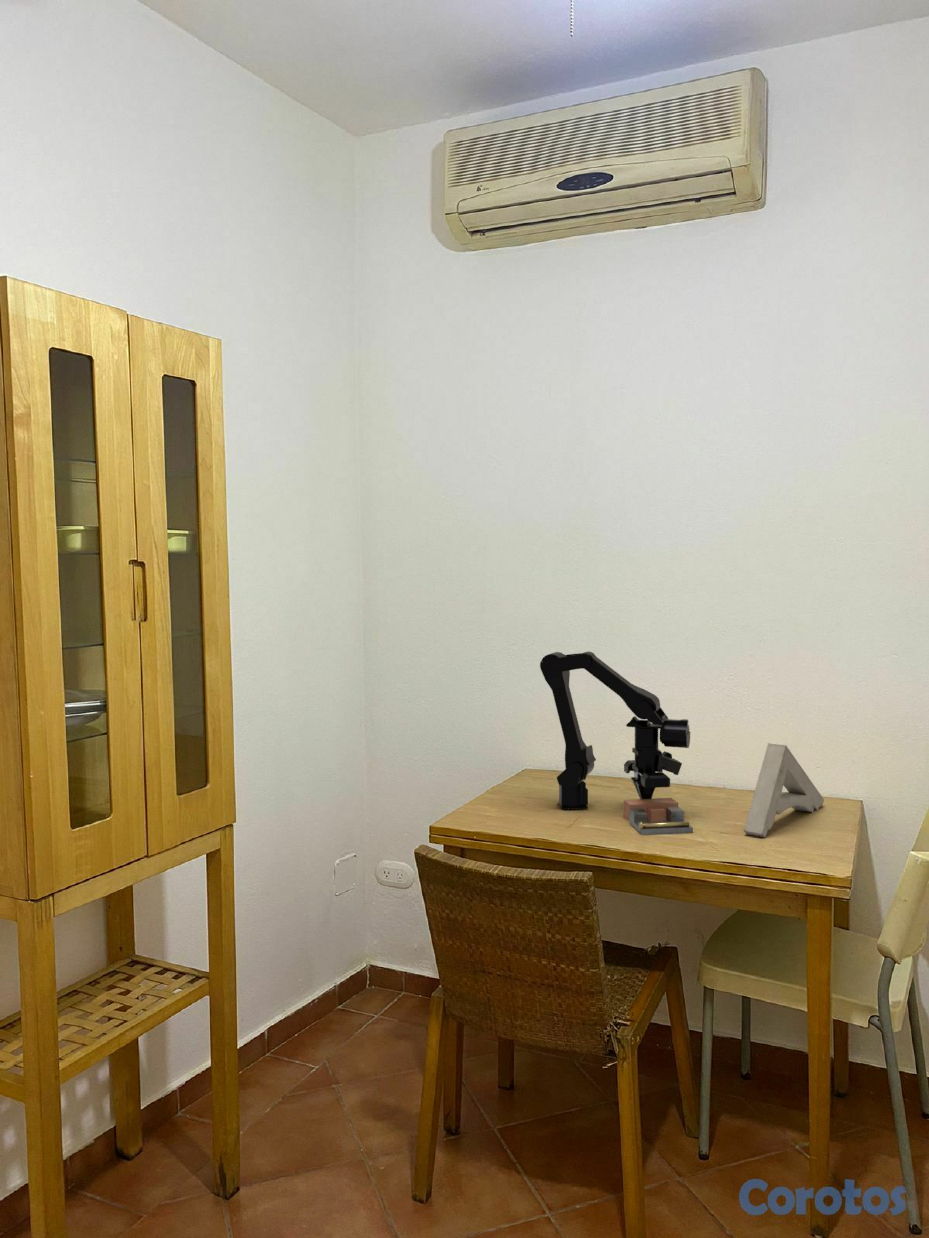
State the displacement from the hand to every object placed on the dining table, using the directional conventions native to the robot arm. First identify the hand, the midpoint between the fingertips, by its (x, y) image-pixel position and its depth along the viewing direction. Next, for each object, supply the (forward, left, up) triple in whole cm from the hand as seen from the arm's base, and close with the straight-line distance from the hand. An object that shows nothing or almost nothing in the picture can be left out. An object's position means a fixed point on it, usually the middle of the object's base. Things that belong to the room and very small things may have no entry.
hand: (646, 807), depth 243 cm
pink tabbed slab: (0, -6, -1) cm, 6 cm away
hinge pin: (-1, -17, -1) cm, 17 cm away
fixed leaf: (-1, -14, -1) cm, 14 cm away
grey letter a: (+31, -11, -2) cm, 33 cm away
